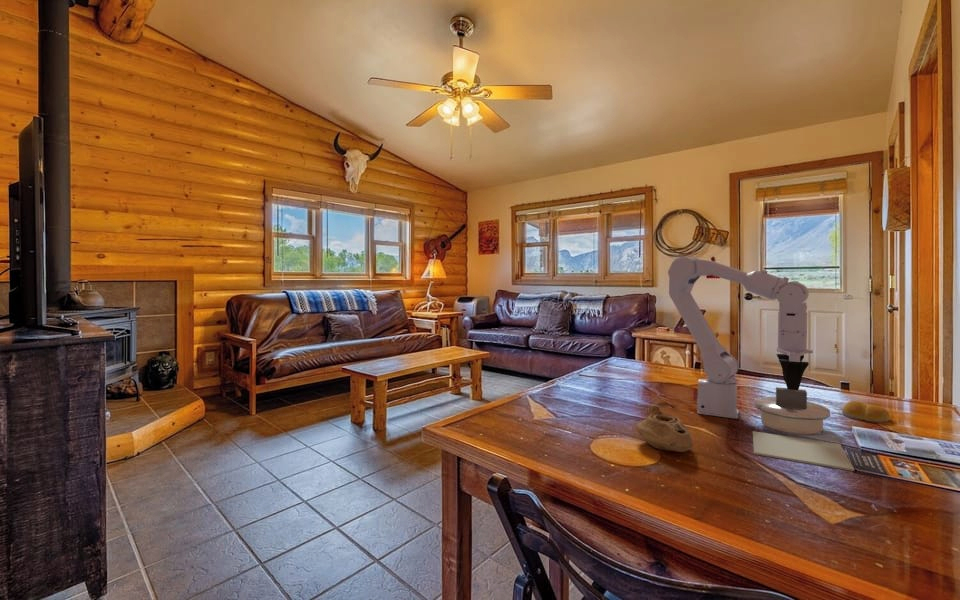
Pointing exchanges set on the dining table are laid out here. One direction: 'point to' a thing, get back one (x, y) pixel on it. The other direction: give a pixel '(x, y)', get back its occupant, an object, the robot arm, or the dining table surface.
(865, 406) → the bread roll
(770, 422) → the bowl
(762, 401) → the lid
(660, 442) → the oil lamp
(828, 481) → the dining table surface
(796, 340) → the robot arm
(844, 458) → the mat
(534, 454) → the dining table surface
